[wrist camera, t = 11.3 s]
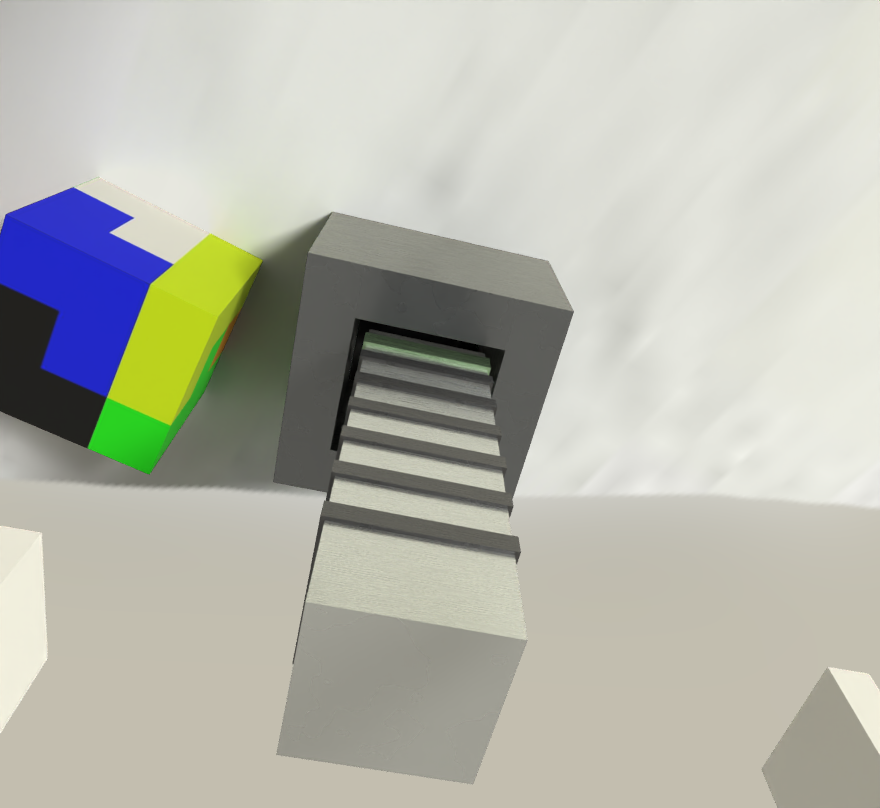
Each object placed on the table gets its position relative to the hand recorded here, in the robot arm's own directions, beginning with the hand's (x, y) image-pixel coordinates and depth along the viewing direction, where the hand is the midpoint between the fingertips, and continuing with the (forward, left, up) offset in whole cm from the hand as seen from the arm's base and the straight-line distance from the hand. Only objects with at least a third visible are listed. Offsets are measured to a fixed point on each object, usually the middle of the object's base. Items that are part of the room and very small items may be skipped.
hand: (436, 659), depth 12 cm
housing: (+5, -5, -34) cm, 34 cm away
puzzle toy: (-7, -16, -34) cm, 38 cm away
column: (+5, -5, -26) cm, 27 cm away
